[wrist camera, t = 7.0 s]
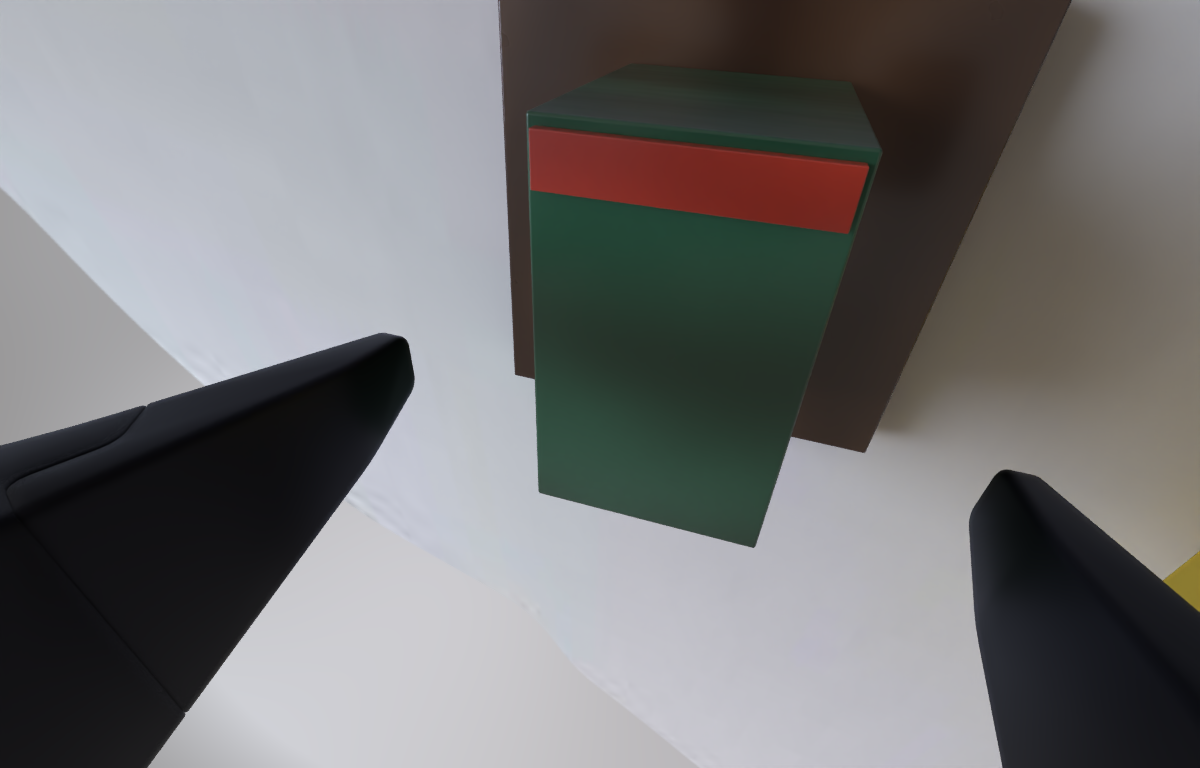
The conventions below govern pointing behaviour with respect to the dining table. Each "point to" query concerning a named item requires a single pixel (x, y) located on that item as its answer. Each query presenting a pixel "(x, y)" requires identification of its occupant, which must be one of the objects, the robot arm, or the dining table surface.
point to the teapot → (1187, 581)
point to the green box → (686, 282)
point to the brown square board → (892, 105)
